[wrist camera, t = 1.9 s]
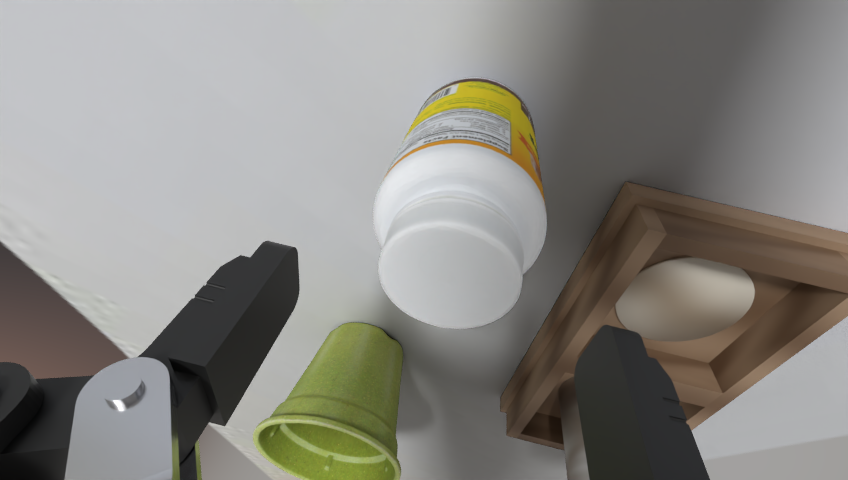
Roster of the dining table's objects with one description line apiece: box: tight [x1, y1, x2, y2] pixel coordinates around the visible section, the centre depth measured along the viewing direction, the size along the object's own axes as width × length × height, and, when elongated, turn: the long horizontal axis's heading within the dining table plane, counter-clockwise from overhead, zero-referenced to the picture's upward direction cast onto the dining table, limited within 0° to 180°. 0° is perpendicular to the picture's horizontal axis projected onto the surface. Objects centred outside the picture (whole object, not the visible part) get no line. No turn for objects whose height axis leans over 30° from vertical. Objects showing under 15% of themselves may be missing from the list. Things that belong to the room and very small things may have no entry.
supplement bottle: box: [373, 77, 547, 329], centre depth 14 cm, size 6×6×10 cm
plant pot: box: [253, 323, 403, 480], centre depth 27 cm, size 9×9×9 cm
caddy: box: [500, 182, 848, 480], centre depth 21 cm, size 21×11×10 cm, turn 171°
